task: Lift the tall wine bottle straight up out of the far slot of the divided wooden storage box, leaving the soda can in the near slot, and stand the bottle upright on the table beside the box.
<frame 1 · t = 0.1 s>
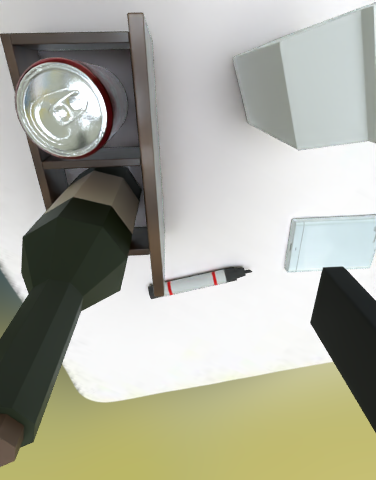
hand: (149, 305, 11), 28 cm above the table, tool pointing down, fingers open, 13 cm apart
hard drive: (329, 241, 44), on the table
marker: (199, 276, 45), on the table
divided wooden storage box: (102, 151, 36), on the table
soda can: (95, 102, 33), resting in divided wooden storage box
wine bottle: (109, 193, 38), resting in divided wooden storage box
milk carton: (270, 80, 33), on the table
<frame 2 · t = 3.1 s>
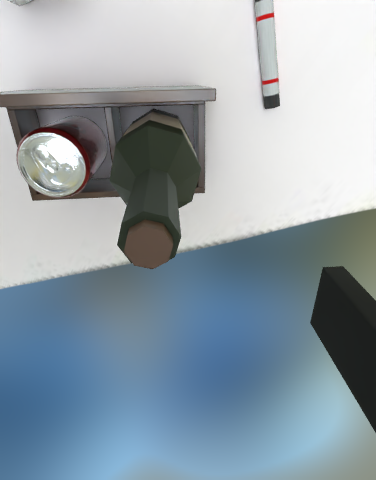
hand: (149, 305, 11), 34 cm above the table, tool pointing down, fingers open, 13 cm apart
marker: (263, 39, 37), on the table
divided wooden storage box: (120, 142, 41), on the table
soda can: (81, 143, 41), resting in divided wooden storage box
wine bottle: (158, 140, 42), resting in divided wooden storage box
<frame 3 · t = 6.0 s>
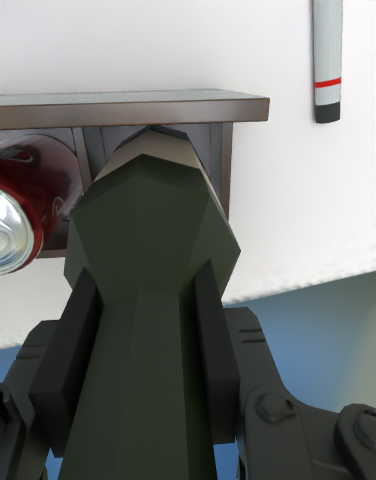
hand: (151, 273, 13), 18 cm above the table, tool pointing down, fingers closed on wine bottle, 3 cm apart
marker: (320, 19, 24), on the table
divided wooden storage box: (103, 171, 28), on the table
soda can: (46, 173, 28), resting in divided wooden storage box
wine bottle: (159, 168, 29), resting in divided wooden storage box, touching gripper
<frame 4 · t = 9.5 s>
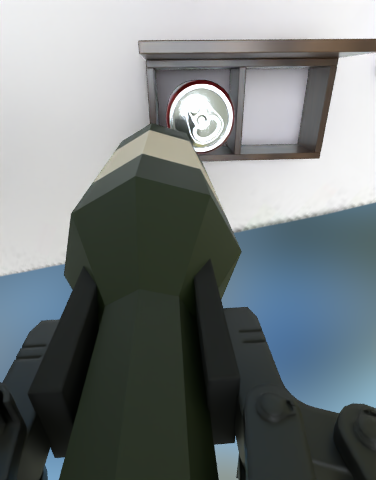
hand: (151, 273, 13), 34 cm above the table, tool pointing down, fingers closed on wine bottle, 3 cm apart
divided wooden storage box: (231, 109, 42), on the table
soda can: (193, 109, 42), resting in divided wooden storage box
wine bottle: (159, 168, 29), point 16 cm above the table, touching gripper
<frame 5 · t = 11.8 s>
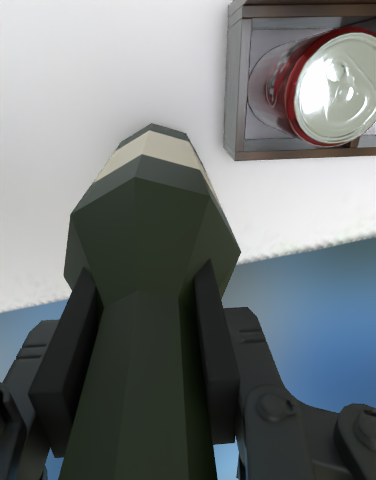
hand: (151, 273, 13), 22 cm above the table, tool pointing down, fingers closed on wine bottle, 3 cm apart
divided wooden storage box: (332, 86, 30), on the table
soda can: (280, 87, 30), resting in divided wooden storage box
wine bottle: (159, 169, 29), point 4 cm above the table, touching gripper
when the fingers open (18 cm above the table, at t = 13.3 s): wine bottle stays where it is, on the table.
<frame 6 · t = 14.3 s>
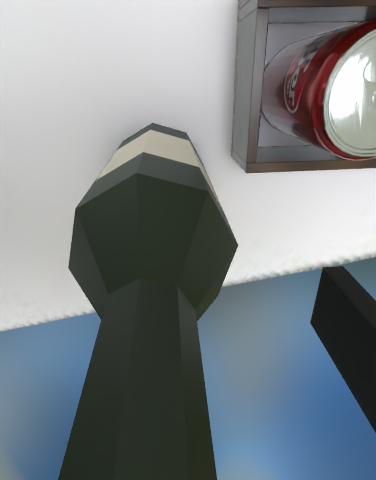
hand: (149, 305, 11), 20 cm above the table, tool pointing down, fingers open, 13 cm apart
divided wooden storage box: (355, 87, 27), on the table
soda can: (296, 89, 27), resting in divided wooden storage box
wine bottle: (159, 167, 29), on the table
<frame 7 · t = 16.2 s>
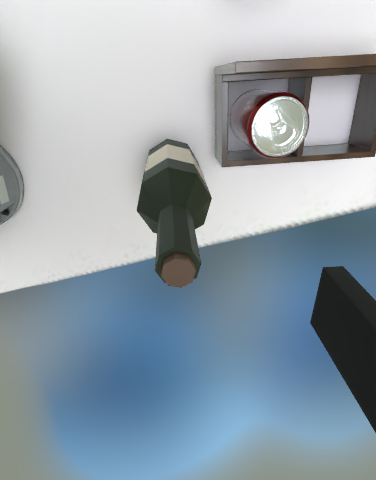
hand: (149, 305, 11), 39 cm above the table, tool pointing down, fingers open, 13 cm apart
divided wooden storage box: (288, 114, 45), on the table
soda can: (252, 116, 45), resting in divided wooden storage box
wine bottle: (171, 165, 48), on the table
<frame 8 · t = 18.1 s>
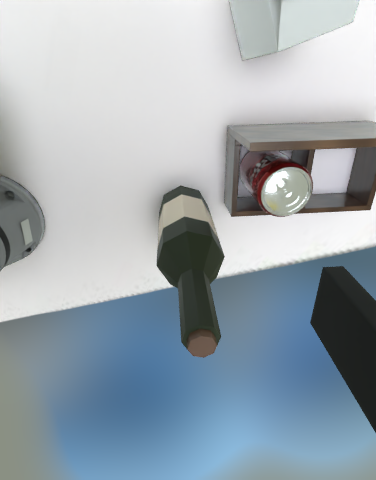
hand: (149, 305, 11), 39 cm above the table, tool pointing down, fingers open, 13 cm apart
divided wooden storage box: (292, 166, 49), on the table
soda can: (260, 167, 49), resting in divided wooden storage box
wine bottle: (183, 208, 51), on the table
milk carton: (260, 21, 40), on the table
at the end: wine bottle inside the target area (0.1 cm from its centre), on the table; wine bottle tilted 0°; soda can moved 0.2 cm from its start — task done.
